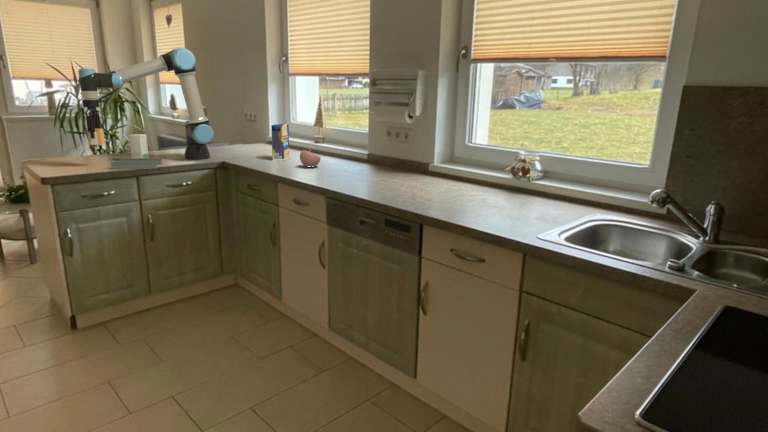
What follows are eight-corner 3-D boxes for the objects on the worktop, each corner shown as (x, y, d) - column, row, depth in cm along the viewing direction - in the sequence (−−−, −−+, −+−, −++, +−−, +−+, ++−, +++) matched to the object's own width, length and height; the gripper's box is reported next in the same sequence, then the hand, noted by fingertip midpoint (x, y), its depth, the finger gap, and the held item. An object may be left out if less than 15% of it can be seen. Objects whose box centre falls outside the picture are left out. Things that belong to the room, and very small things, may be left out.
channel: (162, 164, 274) (161, 158, 274) (156, 168, 260) (155, 162, 259) (119, 164, 269) (119, 158, 269) (111, 168, 255) (110, 162, 254)
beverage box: (289, 159, 309) (288, 124, 303) (282, 161, 299) (281, 125, 293) (279, 158, 310) (278, 123, 304) (272, 160, 300) (271, 125, 294)
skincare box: (142, 162, 278) (139, 135, 274) (131, 162, 278) (128, 134, 274) (149, 160, 286) (146, 133, 282) (138, 159, 286) (135, 133, 282)
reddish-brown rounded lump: (324, 168, 280) (324, 148, 277) (307, 169, 273) (306, 149, 270) (313, 165, 289) (313, 146, 286) (296, 166, 281) (295, 147, 278)
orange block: (105, 143, 261) (103, 128, 259) (101, 144, 255) (99, 129, 253) (92, 143, 259) (90, 128, 257) (89, 144, 254) (86, 129, 252)
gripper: (88, 98, 259) (94, 141, 265) (75, 99, 241) (82, 145, 247) (104, 98, 261) (109, 141, 267) (92, 100, 243) (98, 145, 249)
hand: (96, 143), depth 257 cm, fingers closed on orange block, 6 cm apart
